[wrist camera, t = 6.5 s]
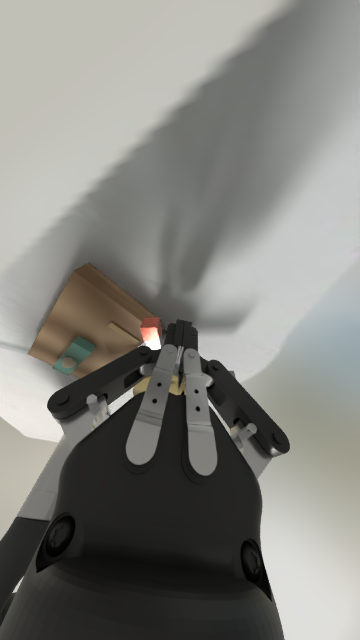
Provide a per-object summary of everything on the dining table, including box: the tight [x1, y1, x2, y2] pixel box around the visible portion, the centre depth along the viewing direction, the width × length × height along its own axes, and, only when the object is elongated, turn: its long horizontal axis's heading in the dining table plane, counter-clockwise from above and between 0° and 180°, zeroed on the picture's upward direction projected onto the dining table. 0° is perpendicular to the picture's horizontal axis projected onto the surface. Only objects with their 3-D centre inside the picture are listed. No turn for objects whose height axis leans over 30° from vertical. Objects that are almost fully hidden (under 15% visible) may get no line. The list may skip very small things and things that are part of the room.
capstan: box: [133, 317, 236, 396], centre depth 20 cm, size 17×17×7 cm
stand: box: [28, 263, 157, 378], centre depth 20 cm, size 18×10×5 cm, turn 135°
